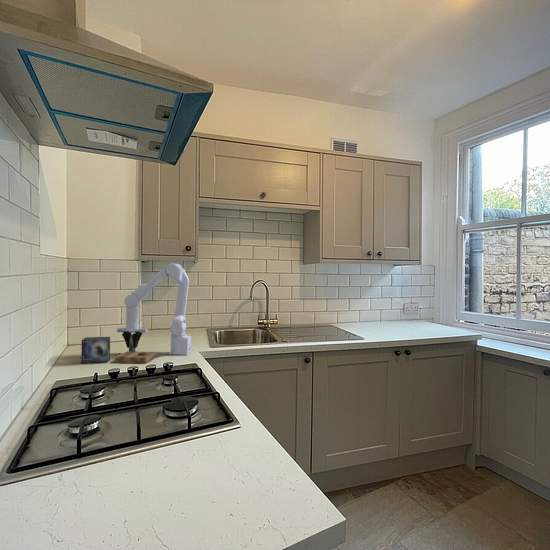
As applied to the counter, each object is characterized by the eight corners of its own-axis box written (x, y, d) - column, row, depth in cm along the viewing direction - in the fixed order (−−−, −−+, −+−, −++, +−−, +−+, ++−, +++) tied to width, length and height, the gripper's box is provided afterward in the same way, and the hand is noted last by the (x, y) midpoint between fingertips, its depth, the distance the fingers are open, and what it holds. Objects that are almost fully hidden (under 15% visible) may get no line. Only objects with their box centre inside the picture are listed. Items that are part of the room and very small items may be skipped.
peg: (136, 352, 171) (136, 334, 171) (133, 354, 168) (133, 335, 168) (130, 352, 171) (130, 334, 171) (127, 354, 168) (127, 335, 168)
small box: (80, 364, 148) (80, 340, 148) (84, 360, 155) (84, 337, 154) (107, 363, 151) (107, 339, 151) (110, 359, 157) (110, 336, 157)
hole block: (156, 357, 162) (156, 352, 162) (146, 363, 151) (146, 357, 151) (127, 356, 163) (127, 351, 163) (115, 362, 152) (115, 356, 152)
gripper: (113, 320, 166) (113, 348, 166) (143, 320, 165) (142, 349, 165) (121, 318, 173) (120, 345, 173) (149, 318, 172) (149, 346, 172)
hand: (132, 347), depth 169 cm, fingers closed on peg, 3 cm apart
